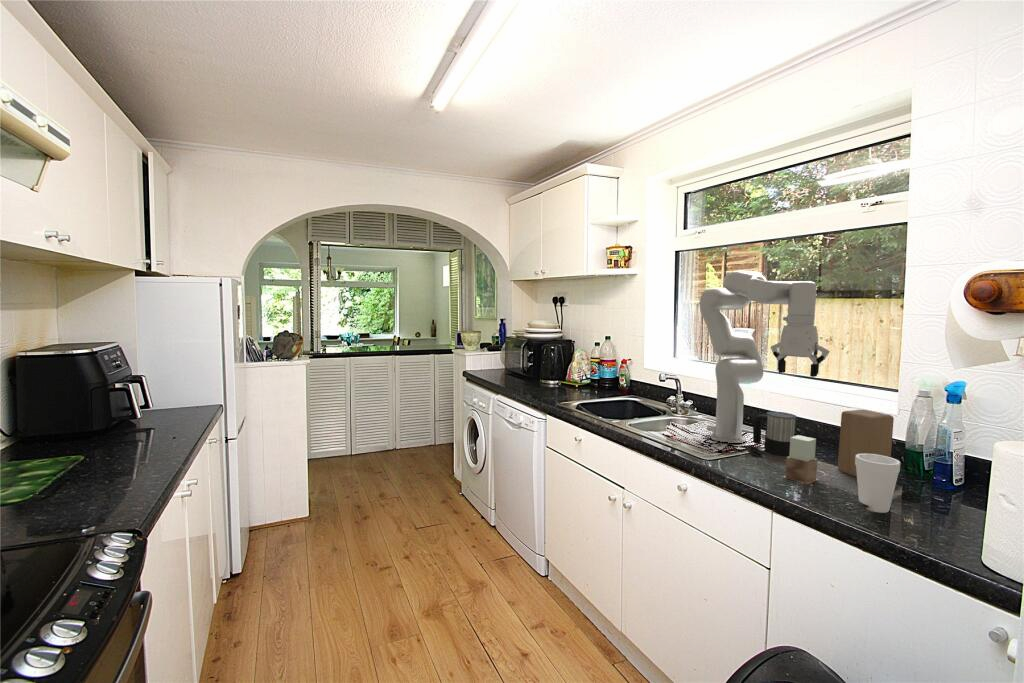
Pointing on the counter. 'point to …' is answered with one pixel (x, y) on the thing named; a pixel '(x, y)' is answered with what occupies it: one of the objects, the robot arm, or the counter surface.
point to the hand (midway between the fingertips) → (797, 374)
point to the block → (863, 437)
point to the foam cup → (876, 480)
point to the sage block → (802, 448)
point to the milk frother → (773, 433)
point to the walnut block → (801, 469)
